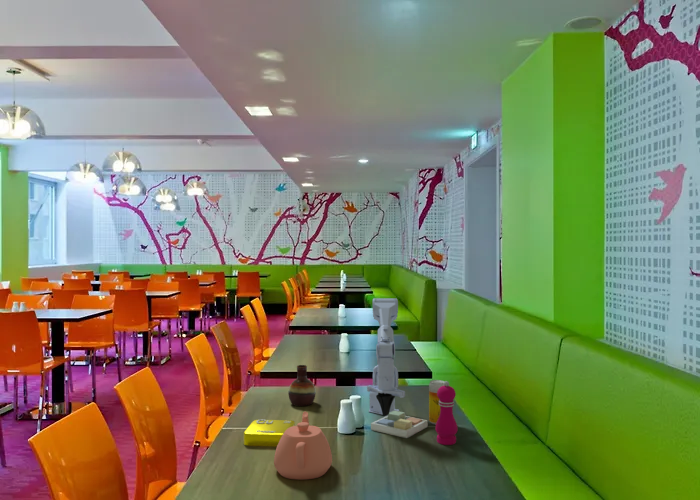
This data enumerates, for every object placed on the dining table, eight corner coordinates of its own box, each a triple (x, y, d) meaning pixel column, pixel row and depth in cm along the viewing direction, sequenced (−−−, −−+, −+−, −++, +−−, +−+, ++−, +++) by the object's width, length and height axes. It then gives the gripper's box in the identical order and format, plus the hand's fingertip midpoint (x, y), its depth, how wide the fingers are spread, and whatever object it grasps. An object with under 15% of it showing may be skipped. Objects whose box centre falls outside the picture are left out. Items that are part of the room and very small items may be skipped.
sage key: (387, 419, 204) (387, 413, 204) (394, 416, 208) (394, 410, 208) (398, 421, 201) (398, 415, 201) (404, 418, 205) (404, 412, 205)
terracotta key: (404, 426, 200) (404, 420, 200) (410, 423, 204) (410, 417, 204) (415, 429, 197) (415, 422, 197) (421, 425, 201) (421, 419, 201)
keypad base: (371, 430, 198) (371, 423, 198) (392, 419, 210) (392, 413, 210) (406, 438, 190) (406, 431, 190) (427, 426, 201) (427, 420, 201)
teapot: (279, 452, 177) (279, 409, 177) (333, 452, 177) (333, 409, 177) (268, 487, 152) (268, 437, 152) (331, 486, 152) (331, 437, 152)
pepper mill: (457, 446, 182) (457, 384, 182) (434, 444, 183) (434, 383, 183) (457, 438, 189) (457, 379, 189) (435, 437, 190) (435, 378, 190)
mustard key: (393, 428, 194) (393, 422, 194) (400, 424, 198) (400, 418, 198) (405, 430, 192) (405, 424, 192) (411, 427, 195) (411, 421, 195)
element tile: (241, 446, 183) (241, 432, 183) (253, 431, 198) (253, 417, 198) (287, 448, 182) (287, 433, 182) (296, 432, 197) (295, 418, 197)
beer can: (440, 426, 202) (440, 384, 201) (426, 423, 205) (425, 382, 205) (448, 422, 206) (448, 381, 206) (434, 419, 210) (434, 378, 210)
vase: (284, 401, 234) (284, 364, 234) (309, 398, 238) (309, 362, 238) (293, 409, 224) (293, 370, 224) (319, 405, 228) (319, 367, 228)
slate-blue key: (376, 428, 198) (376, 421, 198) (383, 424, 202) (383, 418, 202) (387, 430, 196) (387, 424, 196) (394, 427, 199) (394, 420, 199)
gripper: (362, 375, 200) (362, 413, 200) (397, 381, 191) (397, 421, 191) (373, 371, 205) (373, 408, 206) (408, 377, 197) (408, 416, 197)
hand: (385, 414), depth 199 cm, fingers closed
